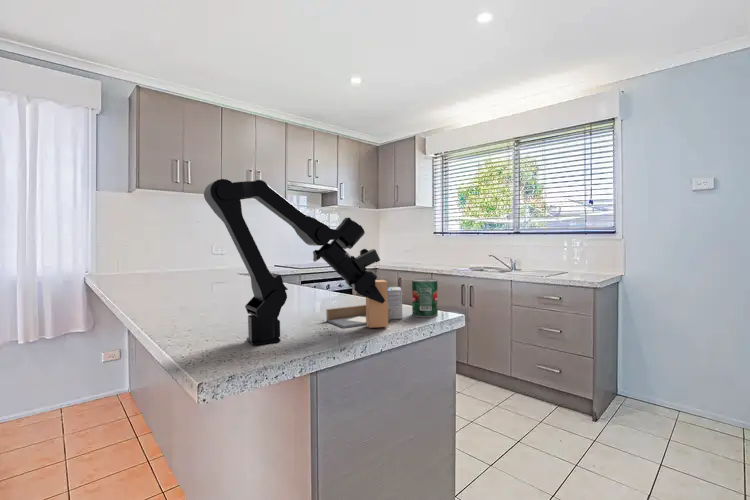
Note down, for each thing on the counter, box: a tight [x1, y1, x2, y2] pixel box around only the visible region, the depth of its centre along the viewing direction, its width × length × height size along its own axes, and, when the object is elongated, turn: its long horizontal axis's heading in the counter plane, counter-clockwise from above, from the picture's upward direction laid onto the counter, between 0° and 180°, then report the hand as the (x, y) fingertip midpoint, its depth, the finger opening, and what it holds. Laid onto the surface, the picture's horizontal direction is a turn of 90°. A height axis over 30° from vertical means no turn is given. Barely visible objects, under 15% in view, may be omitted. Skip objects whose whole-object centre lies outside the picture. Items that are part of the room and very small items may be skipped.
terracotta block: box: [365, 279, 389, 328], centre depth 108 cm, size 5×5×12 cm
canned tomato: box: [411, 278, 439, 318], centre depth 124 cm, size 8×8×11 cm
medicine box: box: [388, 286, 403, 320], centre depth 123 cm, size 8×4×9 cm, turn 179°
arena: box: [325, 304, 391, 329], centre depth 116 cm, size 15×11×4 cm
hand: (381, 300), depth 109 cm, fingers closed on terracotta block, 5 cm apart
